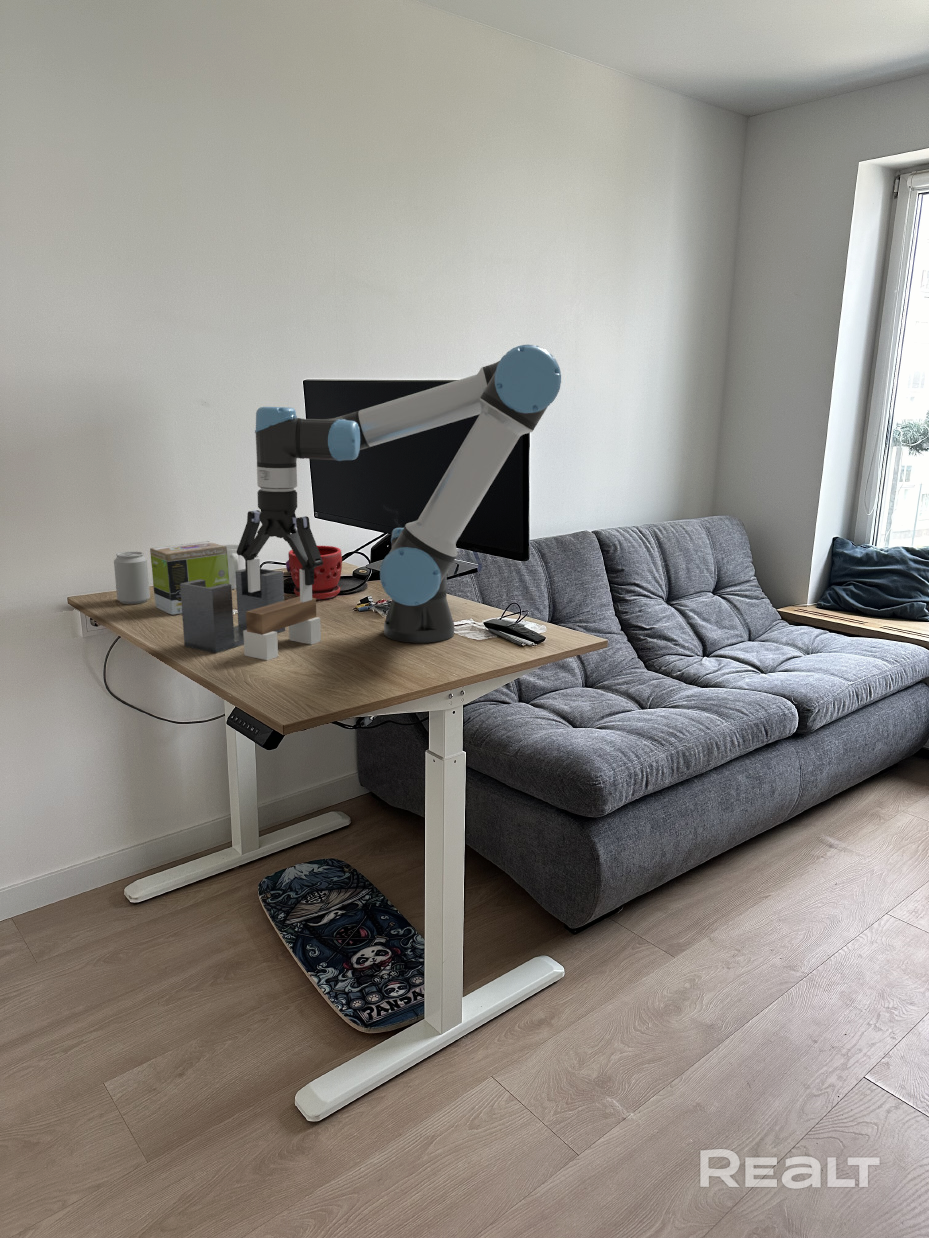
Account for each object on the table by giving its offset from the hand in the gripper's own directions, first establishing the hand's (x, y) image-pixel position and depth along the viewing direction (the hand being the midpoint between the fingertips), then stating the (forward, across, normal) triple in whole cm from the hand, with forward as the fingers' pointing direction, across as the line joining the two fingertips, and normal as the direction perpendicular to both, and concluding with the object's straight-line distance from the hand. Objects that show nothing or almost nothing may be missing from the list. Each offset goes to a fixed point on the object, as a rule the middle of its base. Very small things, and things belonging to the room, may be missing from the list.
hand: (279, 596), depth 174 cm
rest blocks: (+11, 0, 0) cm, 11 cm away
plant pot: (+11, -24, +39) cm, 47 cm away
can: (+12, -56, +10) cm, 59 cm away
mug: (+11, -48, +34) cm, 60 cm away
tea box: (+12, -40, +14) cm, 44 cm away
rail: (+6, 0, 0) cm, 6 cm away
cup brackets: (+11, -12, 0) cm, 17 cm away
